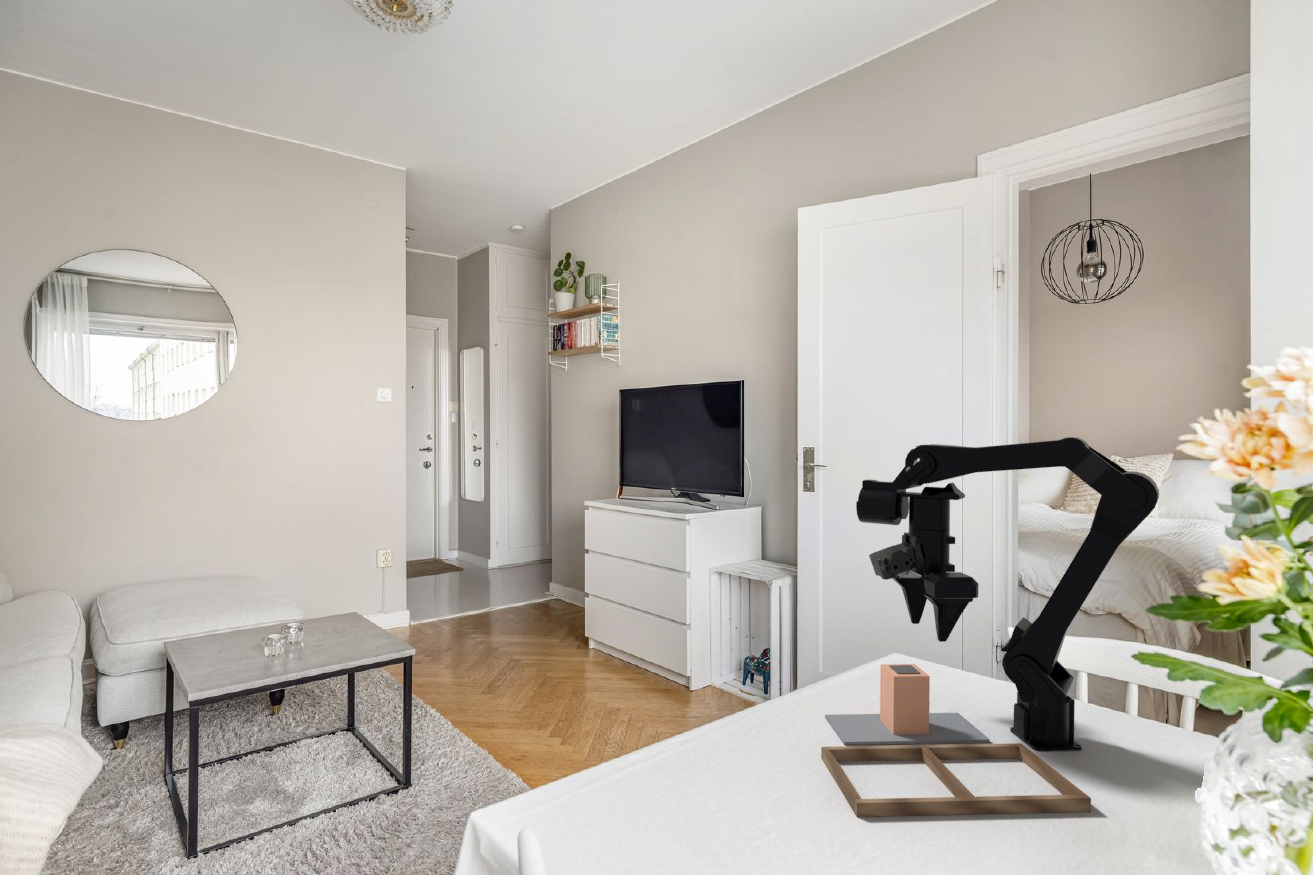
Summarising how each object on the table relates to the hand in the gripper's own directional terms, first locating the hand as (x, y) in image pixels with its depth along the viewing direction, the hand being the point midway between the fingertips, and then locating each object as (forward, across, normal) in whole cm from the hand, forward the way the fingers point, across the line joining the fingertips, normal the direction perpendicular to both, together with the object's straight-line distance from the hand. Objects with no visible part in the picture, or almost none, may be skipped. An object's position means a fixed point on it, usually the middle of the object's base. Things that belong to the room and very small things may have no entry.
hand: (928, 631), depth 105 cm
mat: (+12, +6, -6) cm, 15 cm away
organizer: (+12, +21, -7) cm, 25 cm away
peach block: (+12, +6, -6) cm, 14 cm away
